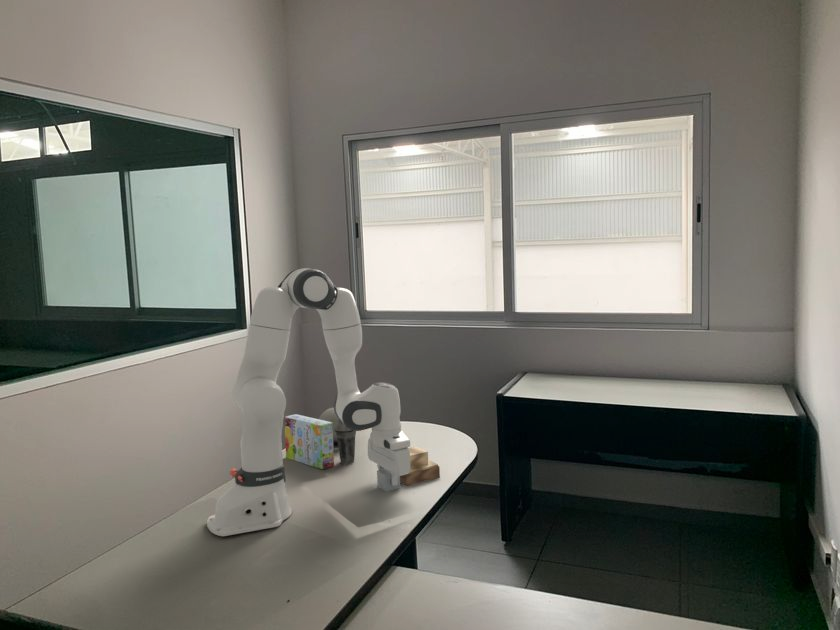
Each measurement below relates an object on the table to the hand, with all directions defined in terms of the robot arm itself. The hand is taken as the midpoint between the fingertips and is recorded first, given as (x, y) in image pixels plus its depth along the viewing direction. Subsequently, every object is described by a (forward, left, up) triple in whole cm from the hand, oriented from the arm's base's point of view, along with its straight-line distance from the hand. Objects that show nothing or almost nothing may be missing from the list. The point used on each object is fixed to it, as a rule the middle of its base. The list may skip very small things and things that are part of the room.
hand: (388, 481), depth 187 cm
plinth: (+11, +4, -2) cm, 12 cm away
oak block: (+11, +4, +2) cm, 12 cm away
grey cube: (0, 0, -2) cm, 2 cm away
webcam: (+4, +47, -2) cm, 47 cm away
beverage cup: (0, +29, -2) cm, 29 cm away
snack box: (-10, +38, -2) cm, 39 cm away
